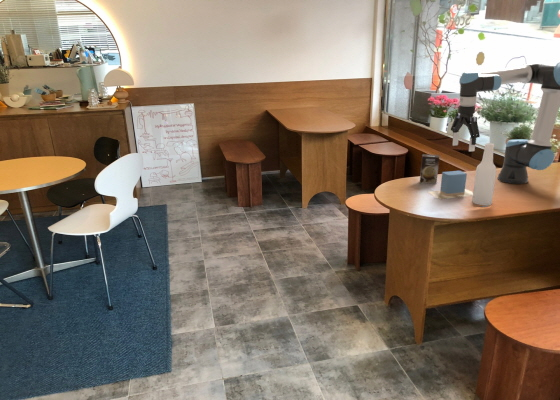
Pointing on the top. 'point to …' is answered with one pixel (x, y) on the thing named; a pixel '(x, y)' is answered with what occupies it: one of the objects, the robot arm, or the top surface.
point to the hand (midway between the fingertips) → (463, 148)
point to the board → (442, 196)
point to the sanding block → (453, 183)
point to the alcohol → (485, 178)
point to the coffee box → (429, 168)
